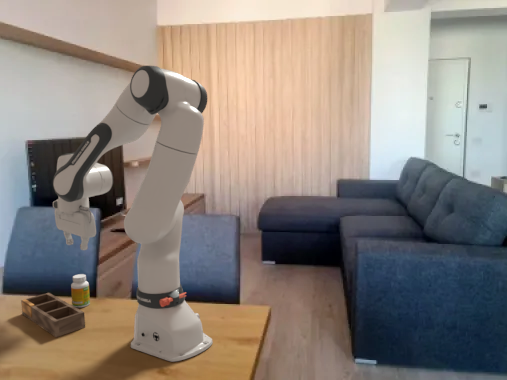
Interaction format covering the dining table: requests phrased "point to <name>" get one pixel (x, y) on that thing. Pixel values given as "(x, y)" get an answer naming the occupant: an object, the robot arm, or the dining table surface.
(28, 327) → the dining table surface
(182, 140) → the robot arm
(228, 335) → the dining table surface
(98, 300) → the dining table surface
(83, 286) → the supplement bottle
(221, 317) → the dining table surface
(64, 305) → the box
